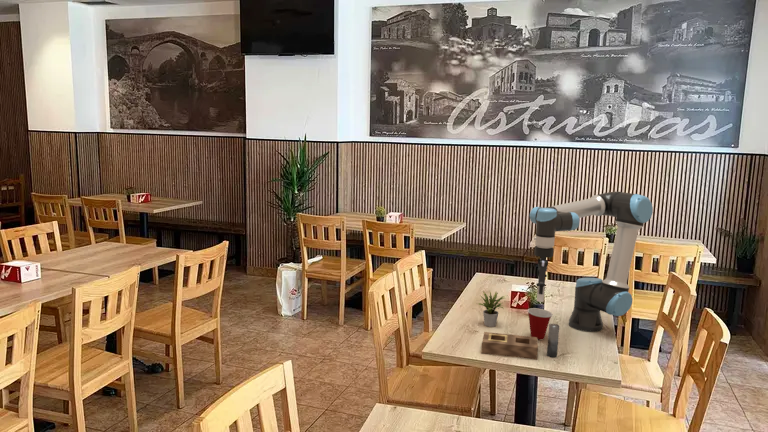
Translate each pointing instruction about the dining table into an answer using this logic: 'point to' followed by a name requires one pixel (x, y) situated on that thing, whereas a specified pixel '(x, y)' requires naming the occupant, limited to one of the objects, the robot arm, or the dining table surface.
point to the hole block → (510, 345)
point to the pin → (553, 340)
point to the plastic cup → (538, 322)
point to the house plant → (491, 309)
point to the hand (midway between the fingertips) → (540, 296)
